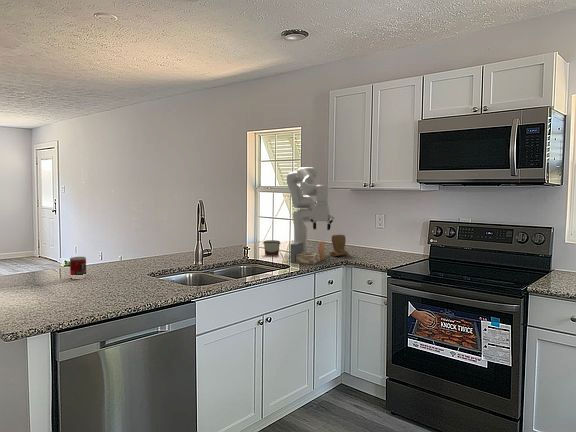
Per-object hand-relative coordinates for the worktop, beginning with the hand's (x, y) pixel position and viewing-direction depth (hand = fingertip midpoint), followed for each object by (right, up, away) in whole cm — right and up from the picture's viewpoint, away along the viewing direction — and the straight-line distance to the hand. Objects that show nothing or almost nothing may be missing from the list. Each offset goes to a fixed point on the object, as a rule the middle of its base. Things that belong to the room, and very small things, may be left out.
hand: (321, 229), depth 296 cm
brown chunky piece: (+13, -19, +21) cm, 31 cm away
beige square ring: (-9, -21, -7) cm, 24 cm away
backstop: (-16, -20, -4) cm, 27 cm away
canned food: (-133, -24, -59) cm, 148 cm away
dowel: (0, -20, +2) cm, 20 cm away
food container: (-33, -19, +22) cm, 44 cm away
